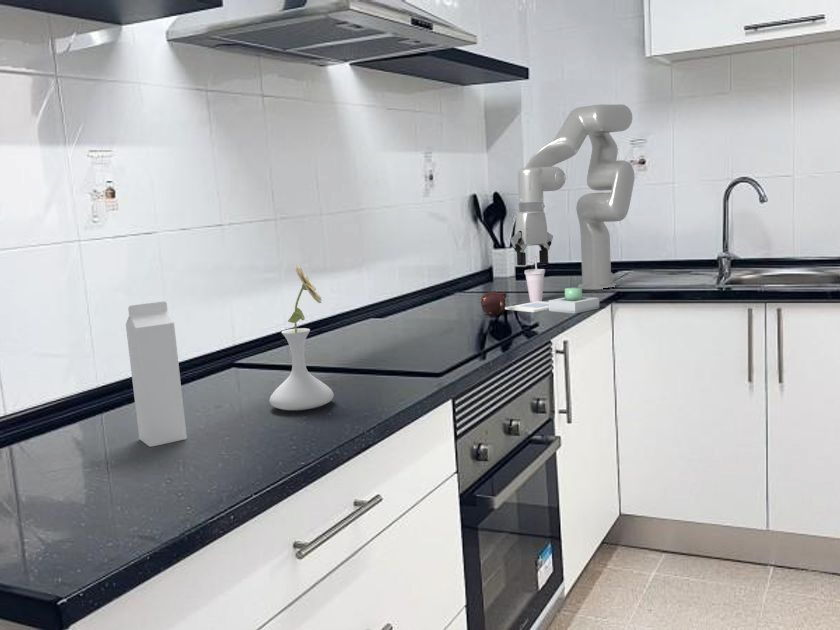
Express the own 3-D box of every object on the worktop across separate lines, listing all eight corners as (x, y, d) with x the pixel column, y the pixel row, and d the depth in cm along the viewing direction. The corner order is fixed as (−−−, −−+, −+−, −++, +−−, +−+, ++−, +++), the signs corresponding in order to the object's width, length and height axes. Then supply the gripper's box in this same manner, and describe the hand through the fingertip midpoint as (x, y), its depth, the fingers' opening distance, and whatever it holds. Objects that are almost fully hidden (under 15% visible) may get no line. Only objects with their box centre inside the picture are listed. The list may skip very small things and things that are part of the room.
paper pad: (538, 303, 259) (538, 300, 259) (567, 305, 249) (567, 303, 249) (505, 309, 250) (504, 307, 250) (534, 312, 241) (533, 309, 241)
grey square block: (572, 306, 248) (572, 296, 247) (599, 308, 240) (599, 298, 239) (548, 310, 242) (548, 300, 241) (575, 313, 234) (574, 302, 234)
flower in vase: (320, 416, 143) (307, 269, 140) (259, 415, 146) (245, 271, 143) (347, 396, 156) (336, 261, 152) (290, 396, 159) (278, 264, 155)
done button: (573, 299, 244) (572, 287, 243) (585, 300, 240) (585, 287, 240) (561, 301, 241) (561, 289, 240) (574, 302, 237) (573, 290, 237)
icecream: (496, 296, 232) (517, 293, 245) (472, 289, 236) (495, 287, 249) (491, 320, 233) (512, 316, 247) (467, 313, 237) (489, 310, 250)
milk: (139, 439, 136) (122, 304, 133) (176, 431, 140) (160, 299, 137) (149, 447, 131) (132, 307, 128) (188, 439, 135) (172, 302, 131)
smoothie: (540, 302, 259) (537, 257, 257) (521, 302, 263) (519, 257, 261) (550, 299, 264) (548, 255, 262) (532, 299, 268) (530, 255, 266)
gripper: (542, 207, 268) (543, 261, 270) (502, 209, 257) (504, 266, 259) (559, 207, 262) (561, 262, 264) (519, 209, 251) (521, 266, 253)
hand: (532, 264), depth 262 cm, fingers open, 9 cm apart
